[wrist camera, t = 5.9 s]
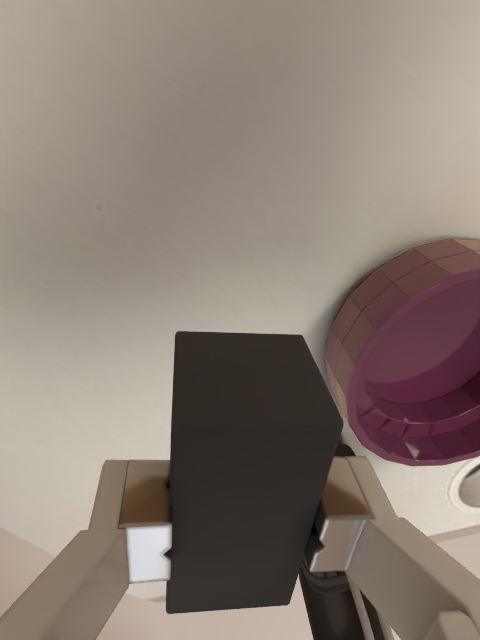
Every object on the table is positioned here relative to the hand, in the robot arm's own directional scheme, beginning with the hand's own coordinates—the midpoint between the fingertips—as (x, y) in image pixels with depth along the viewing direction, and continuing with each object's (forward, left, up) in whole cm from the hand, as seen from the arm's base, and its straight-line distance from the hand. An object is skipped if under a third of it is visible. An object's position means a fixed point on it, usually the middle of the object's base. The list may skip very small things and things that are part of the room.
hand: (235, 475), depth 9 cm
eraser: (0, 0, -2) cm, 2 cm away
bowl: (+6, +16, -17) cm, 24 cm away
